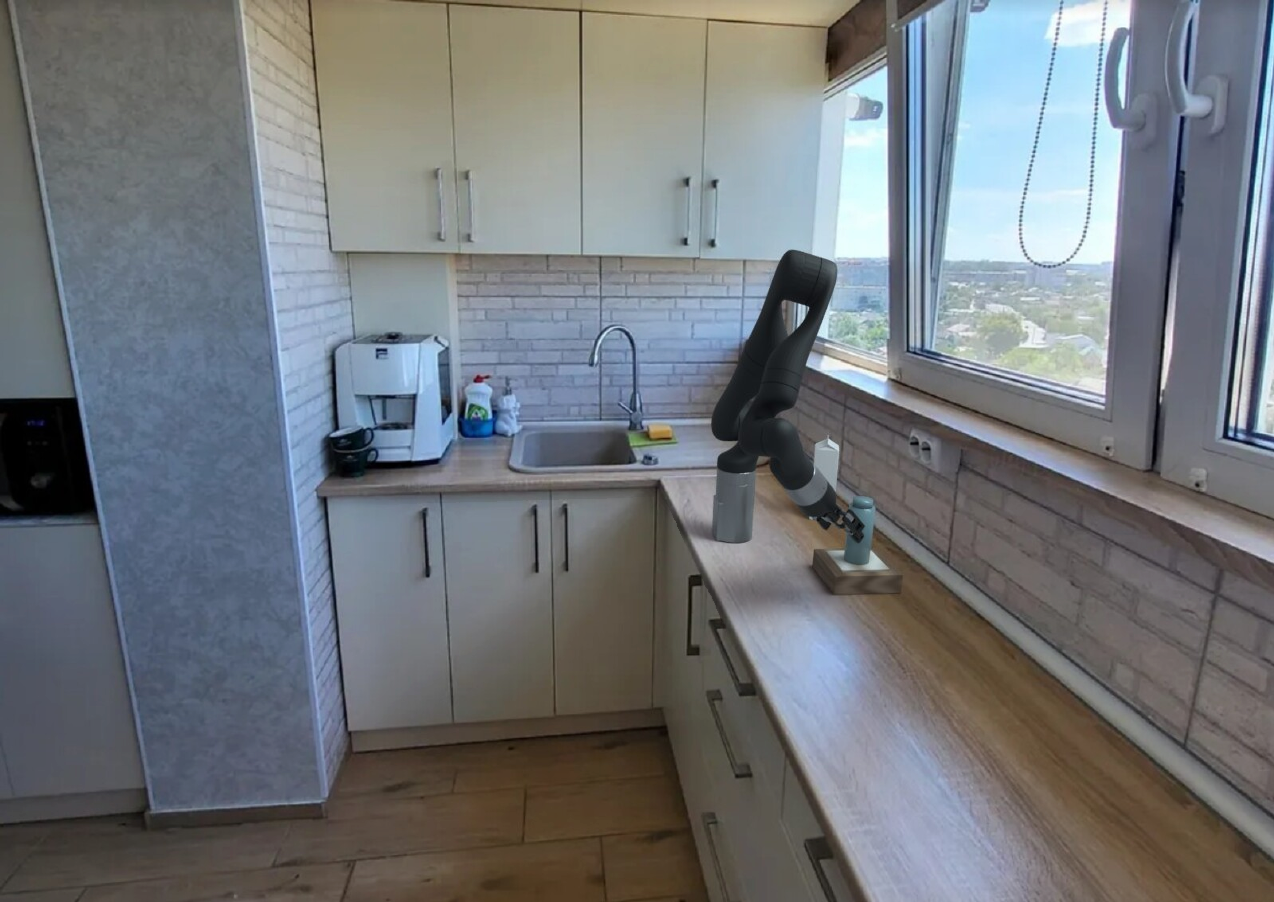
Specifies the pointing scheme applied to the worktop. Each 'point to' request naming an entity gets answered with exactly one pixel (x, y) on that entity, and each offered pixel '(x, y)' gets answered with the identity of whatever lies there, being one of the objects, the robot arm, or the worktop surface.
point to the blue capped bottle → (866, 514)
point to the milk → (827, 460)
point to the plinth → (857, 573)
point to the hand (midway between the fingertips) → (843, 532)
